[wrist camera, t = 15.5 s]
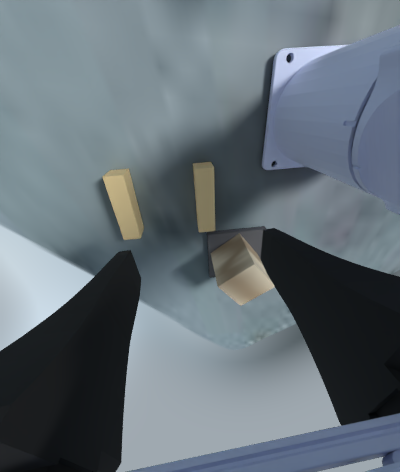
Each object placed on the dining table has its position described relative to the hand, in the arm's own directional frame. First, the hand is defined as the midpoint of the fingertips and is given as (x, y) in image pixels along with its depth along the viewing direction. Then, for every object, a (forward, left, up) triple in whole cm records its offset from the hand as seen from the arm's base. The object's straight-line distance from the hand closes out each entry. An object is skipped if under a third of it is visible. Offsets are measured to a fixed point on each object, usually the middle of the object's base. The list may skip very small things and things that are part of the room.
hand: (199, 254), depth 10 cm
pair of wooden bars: (+2, 0, -9) cm, 10 cm away
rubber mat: (-5, +8, -9) cm, 13 cm away
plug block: (-4, +8, -9) cm, 12 cm away
